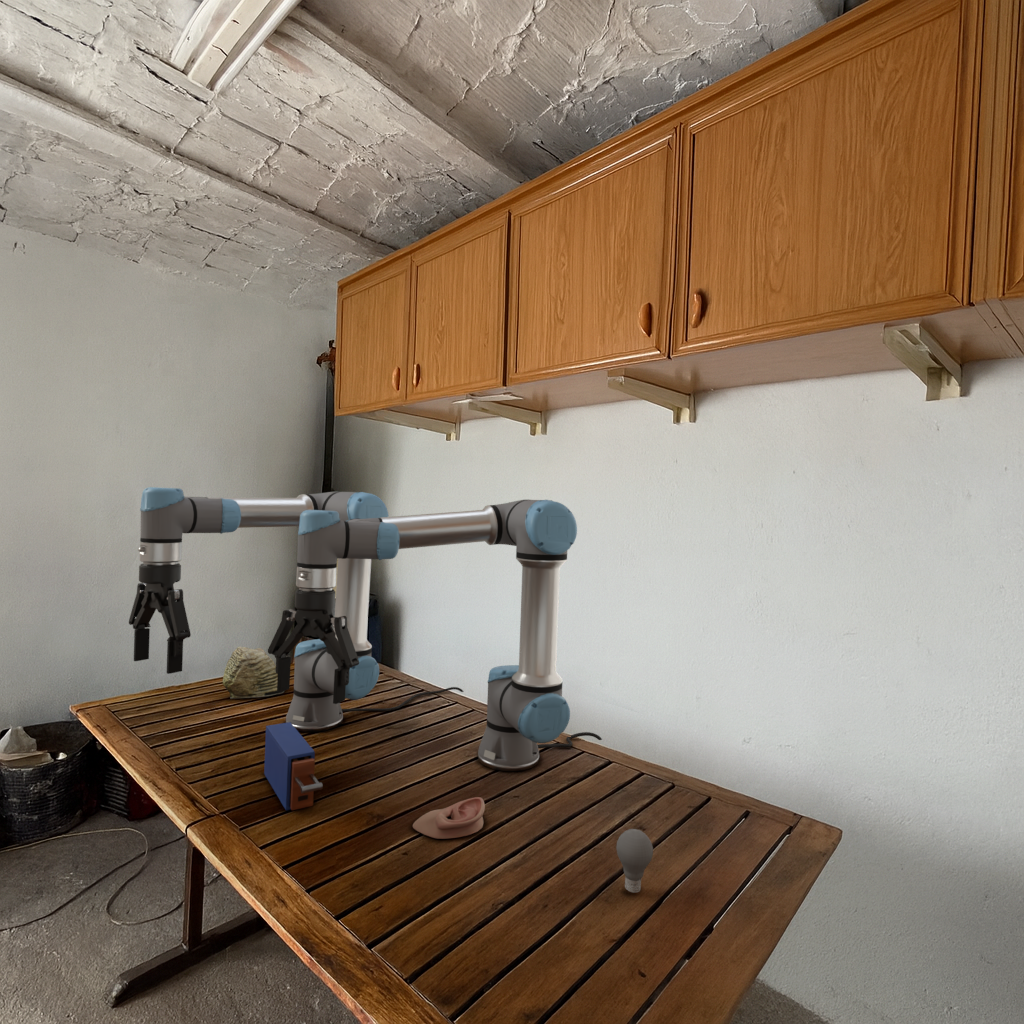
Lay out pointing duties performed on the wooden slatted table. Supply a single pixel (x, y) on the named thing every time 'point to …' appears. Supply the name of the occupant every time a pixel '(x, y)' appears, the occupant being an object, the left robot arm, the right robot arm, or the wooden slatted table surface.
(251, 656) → the fossil
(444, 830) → the anatomical model
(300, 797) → the drawer
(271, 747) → the cabinet
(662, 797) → the wooden slatted table surface
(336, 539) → the right robot arm
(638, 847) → the light bulb
